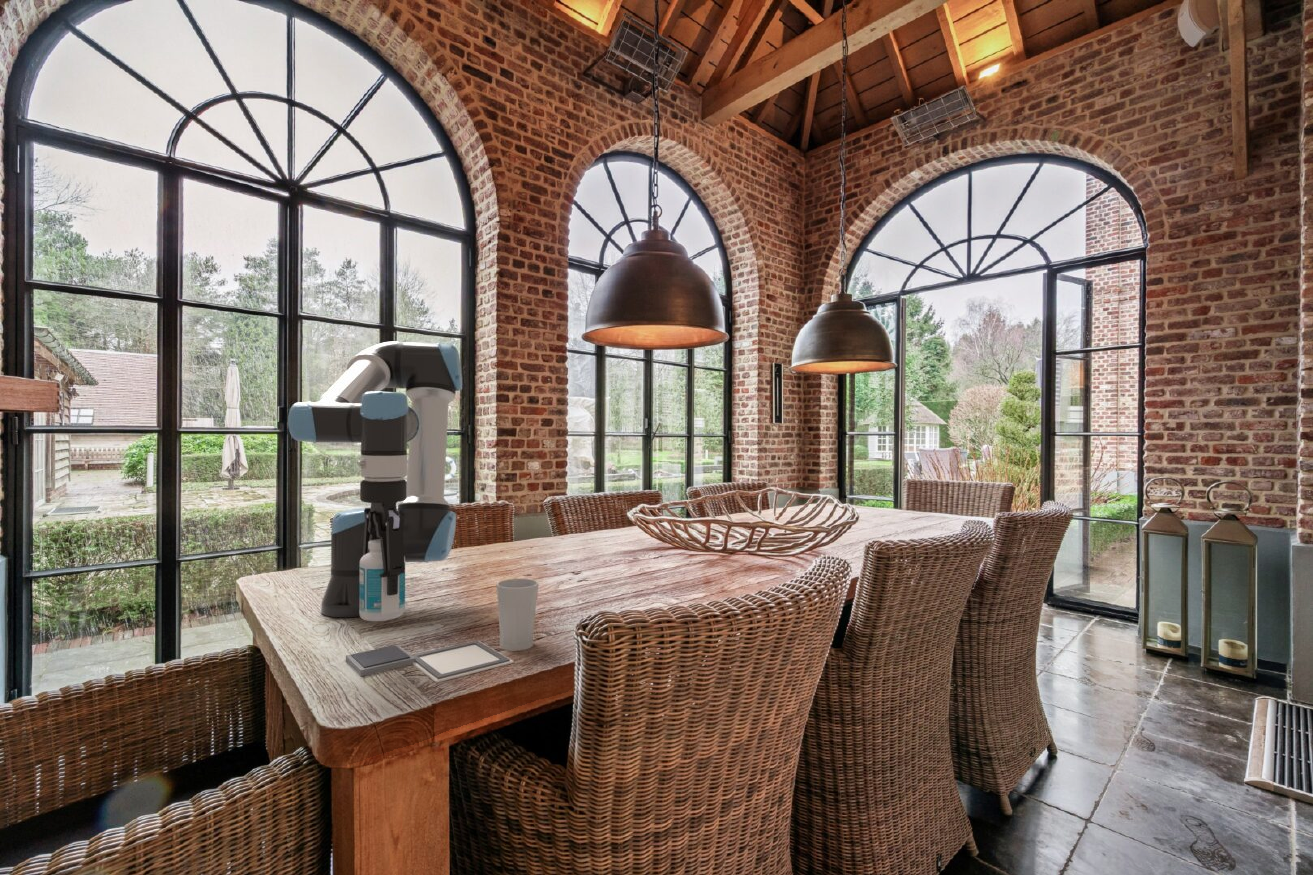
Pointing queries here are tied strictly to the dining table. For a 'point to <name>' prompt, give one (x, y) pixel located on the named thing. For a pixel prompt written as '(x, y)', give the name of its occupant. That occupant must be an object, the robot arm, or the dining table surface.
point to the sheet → (459, 661)
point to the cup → (516, 613)
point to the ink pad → (379, 660)
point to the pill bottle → (376, 585)
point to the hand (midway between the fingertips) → (382, 606)
